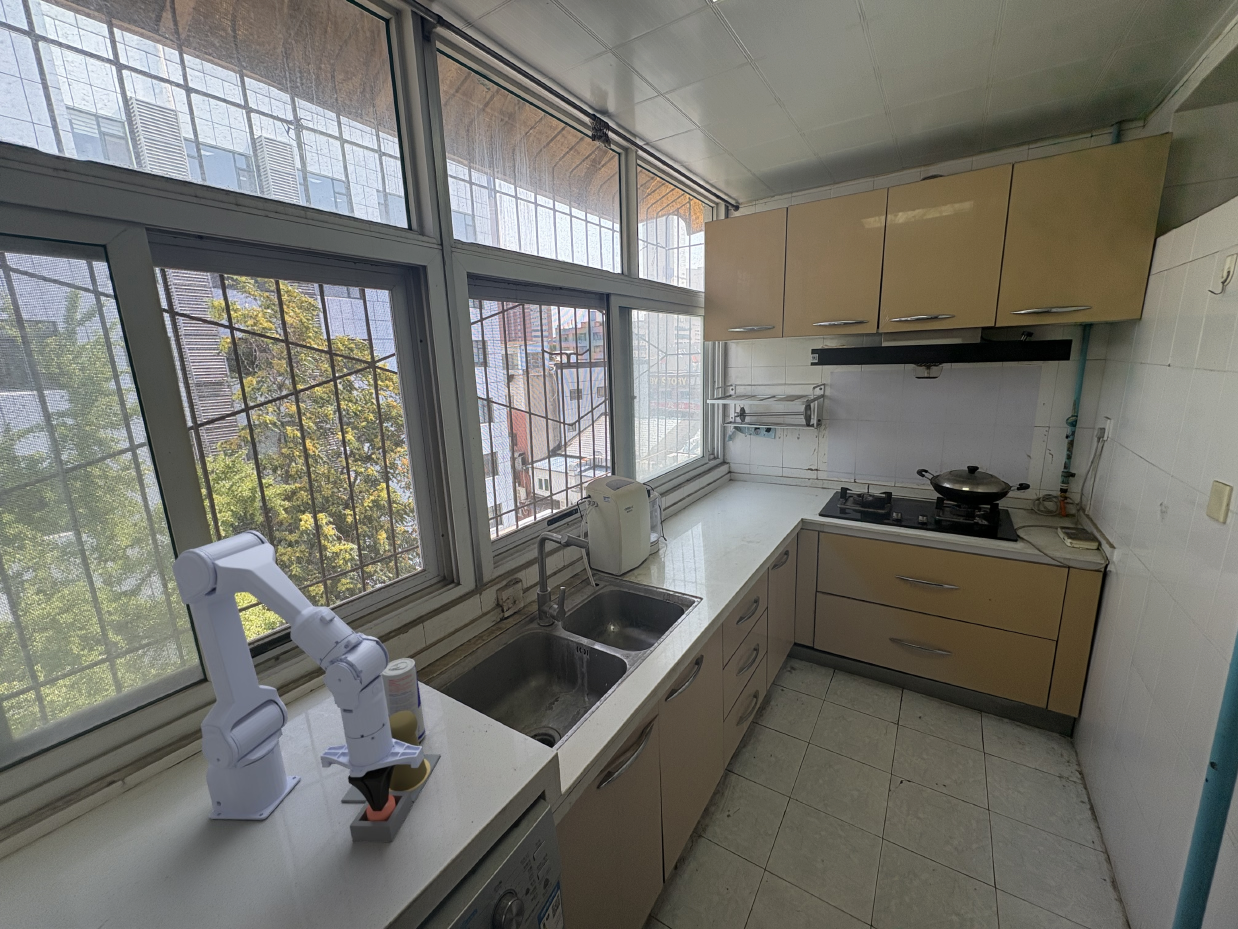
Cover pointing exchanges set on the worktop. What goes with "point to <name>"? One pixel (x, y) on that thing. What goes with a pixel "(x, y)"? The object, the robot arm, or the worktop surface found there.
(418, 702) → the beverage can
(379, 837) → the button housing
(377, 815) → the button
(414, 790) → the grey kitchen scale
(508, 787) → the worktop surface
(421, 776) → the olive knobbed peg
